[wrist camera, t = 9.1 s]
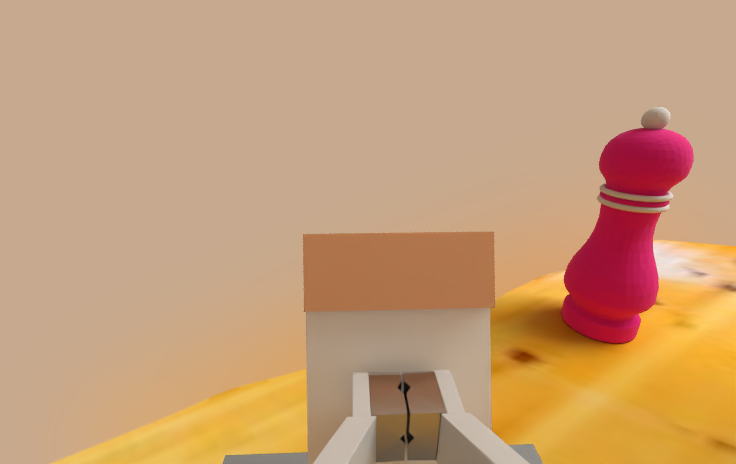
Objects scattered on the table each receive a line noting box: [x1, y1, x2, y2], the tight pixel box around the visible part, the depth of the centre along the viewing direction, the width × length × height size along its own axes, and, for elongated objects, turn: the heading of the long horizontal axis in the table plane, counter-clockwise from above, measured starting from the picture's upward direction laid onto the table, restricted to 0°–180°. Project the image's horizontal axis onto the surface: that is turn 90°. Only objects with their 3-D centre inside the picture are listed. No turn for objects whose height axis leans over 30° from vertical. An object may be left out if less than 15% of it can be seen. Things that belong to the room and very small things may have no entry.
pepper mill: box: [561, 107, 693, 343], centre depth 30 cm, size 7×7×20 cm
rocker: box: [303, 232, 495, 464], centre depth 12 cm, size 3×6×15 cm, turn 92°
